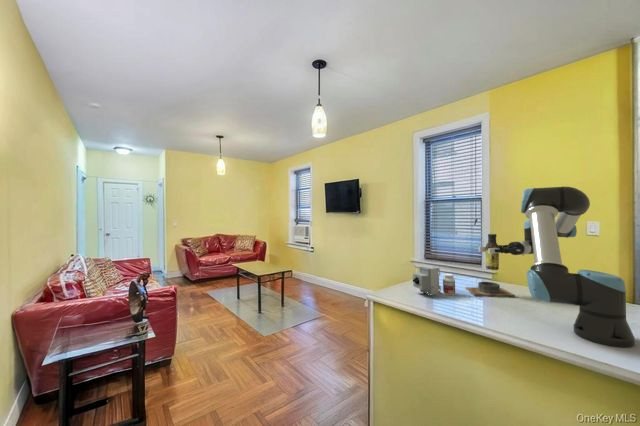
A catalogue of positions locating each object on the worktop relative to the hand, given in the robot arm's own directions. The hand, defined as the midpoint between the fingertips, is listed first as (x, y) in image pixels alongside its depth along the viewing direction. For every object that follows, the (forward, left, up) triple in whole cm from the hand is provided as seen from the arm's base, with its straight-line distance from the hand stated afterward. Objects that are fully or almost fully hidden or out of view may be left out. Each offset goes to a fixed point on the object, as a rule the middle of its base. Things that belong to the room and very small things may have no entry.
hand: (484, 250), depth 148 cm
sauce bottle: (+5, -2, -11) cm, 12 cm away
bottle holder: (+5, +1, -25) cm, 25 cm away
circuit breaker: (-24, +21, -25) cm, 40 cm away
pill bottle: (-14, +13, -25) cm, 31 cm away
